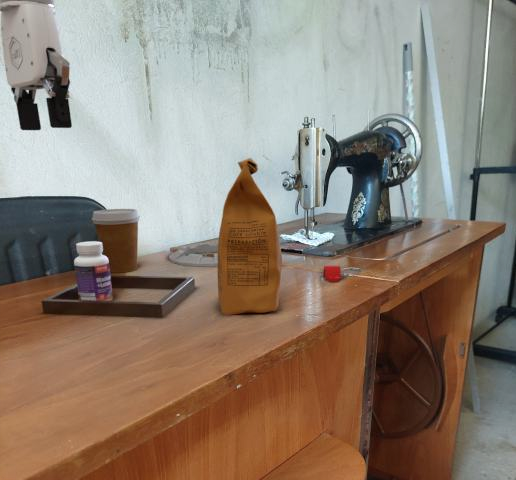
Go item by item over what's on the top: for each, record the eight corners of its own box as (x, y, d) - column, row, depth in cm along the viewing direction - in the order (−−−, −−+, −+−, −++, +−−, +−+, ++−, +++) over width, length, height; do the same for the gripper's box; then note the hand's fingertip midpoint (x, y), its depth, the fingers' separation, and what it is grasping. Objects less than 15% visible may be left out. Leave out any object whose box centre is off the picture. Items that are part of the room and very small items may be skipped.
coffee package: (282, 295, 87) (281, 157, 79) (281, 318, 76) (280, 158, 68) (223, 296, 88) (217, 158, 80) (214, 318, 76) (205, 160, 68)
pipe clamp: (322, 272, 103) (322, 261, 102) (336, 272, 103) (337, 261, 102) (326, 282, 95) (326, 270, 95) (341, 282, 95) (342, 270, 94)
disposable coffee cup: (88, 271, 108) (80, 212, 104) (124, 263, 115) (117, 207, 111) (119, 276, 103) (112, 214, 98) (154, 267, 110) (149, 209, 106)
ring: (203, 270, 106) (203, 261, 106) (153, 257, 120) (152, 249, 119) (271, 256, 119) (271, 248, 118) (219, 246, 132) (218, 238, 131)
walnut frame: (43, 316, 79) (41, 300, 78) (95, 288, 94) (93, 274, 94) (162, 320, 76) (161, 304, 75) (195, 290, 91) (194, 277, 90)
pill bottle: (104, 307, 83) (96, 246, 79) (73, 306, 84) (64, 245, 80) (118, 298, 88) (112, 240, 84) (89, 297, 89) (81, 240, 85)
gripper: (-25, 7, 77) (-3, 130, 83) (28, -19, 66) (50, 126, 72) (24, 15, 82) (42, 131, 89) (81, -7, 72) (97, 127, 78)
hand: (45, 128), depth 80 cm, fingers open, 9 cm apart
